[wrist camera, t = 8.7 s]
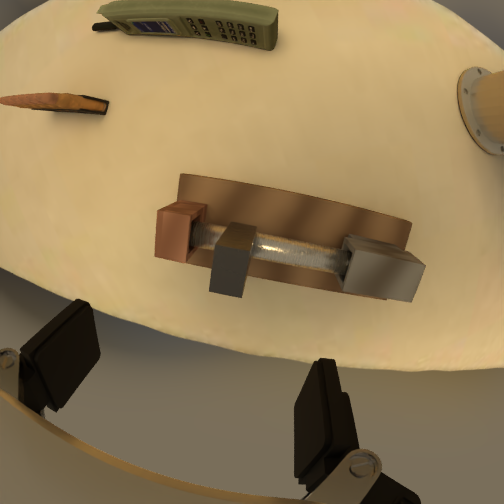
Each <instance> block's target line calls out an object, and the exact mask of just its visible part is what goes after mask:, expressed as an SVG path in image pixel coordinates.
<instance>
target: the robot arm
mask: <svg viewBox="0 0 504 504" xmlns="http://www.w3.org/2000/svg"><path fill="white" fill-rule="evenodd" d="M458 101H459V106H460V110H461V113H462V117H463V119H464V122H465V124H466V127H467V128H468V130H469V132H470V134H471V136H472V137H473V138H474V140H475V141H476V143H477V144H478V145H479V146H480V147H481V148H482V149H484V150H485V151H486V152H488V153H490V154H495V155H503V154H504V71H500V72H496V73H491V72H489V71H488V70H486V69H484V68H481V67H472V68H469V69H467V70H465V71H464V72H463V73H462V75H461V77H460V79H459V83H458ZM20 351H21V353H20V354H18V352H17V351H16V350H14V349H12V348H4V349H1V350H0V504H421V501H420V498H419V497H418V495H417V494H415V493H414V492H413V491H411V490H409V489H407V488H406V487H404V486H403V485H401V484H399V483H398V482H396V481H395V480H393V479H391V478H390V477H388V476H386V475H385V474H384V473H382V472H381V470H382V463H381V460H380V458H379V457H378V456H377V455H376V454H375V453H374V452H372V451H370V450H367V449H360V448H359V443H358V438H357V433H356V428H355V422H354V417H353V413H352V408H351V403H350V398H349V396H348V394H347V393H346V392H342V391H341V386H340V381H339V376H338V371H337V367H336V362H335V360H334V359H326V358H320V359H319V360H318V361H314V362H313V365H312V367H311V369H310V372H309V374H308V376H307V378H306V381H305V383H304V385H303V387H302V390H301V392H300V394H299V396H298V398H297V400H296V402H295V406H294V476H295V478H299V484H306V490H307V491H308V493H307V494H306V495H305V496H304V497H302V498H301V499H300V500H299V499H287V498H278V497H267V496H258V495H250V494H243V493H237V492H231V491H225V490H219V489H214V488H210V487H205V486H201V485H196V484H192V483H189V482H185V481H181V480H178V479H174V478H171V477H167V476H164V475H161V474H158V473H155V472H152V471H149V470H146V469H144V468H141V467H138V466H135V465H133V464H130V463H128V462H126V461H123V460H121V459H118V458H116V457H114V456H112V455H109V454H107V453H105V452H103V451H101V450H99V449H96V448H94V447H93V446H91V445H89V444H87V443H85V442H83V441H81V440H79V439H77V438H76V437H74V436H72V435H70V434H68V433H67V432H65V431H63V430H62V429H60V428H58V427H57V426H55V425H54V424H52V423H50V422H49V421H47V420H46V419H45V413H44V408H45V406H46V405H47V407H48V408H50V409H51V410H53V411H55V412H57V411H58V409H59V408H63V407H64V405H65V404H66V403H67V401H68V400H69V398H70V397H71V396H72V394H73V393H74V392H75V390H76V389H77V388H78V386H79V385H80V384H81V382H82V381H83V380H84V378H85V377H86V376H87V374H88V373H89V372H90V370H91V369H92V368H93V367H94V365H95V364H96V363H97V361H98V360H99V358H100V354H101V353H100V348H99V343H98V338H97V333H96V327H95V321H94V315H93V309H92V307H91V306H90V304H89V303H88V302H86V301H83V300H81V299H76V300H75V301H73V302H72V303H71V304H70V305H69V306H67V307H66V308H65V309H64V310H63V311H61V312H60V313H59V314H58V315H57V316H56V317H54V318H53V319H52V320H51V321H50V322H49V323H48V324H46V325H45V326H44V327H43V328H42V329H41V330H40V331H39V332H38V333H36V334H35V335H34V336H33V337H32V338H31V339H30V340H29V341H28V342H27V343H26V344H25V345H23V346H22V347H21V348H20Z"/></svg>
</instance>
